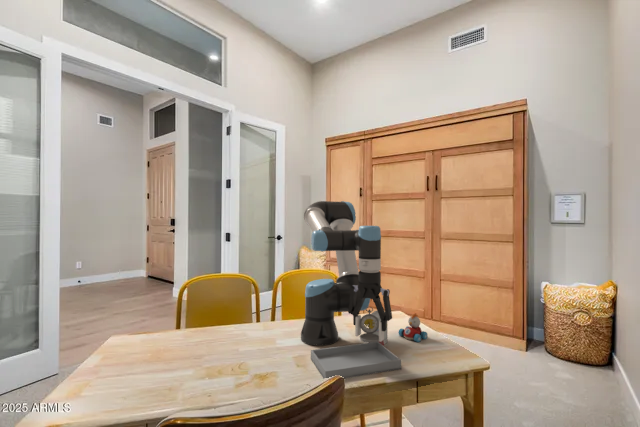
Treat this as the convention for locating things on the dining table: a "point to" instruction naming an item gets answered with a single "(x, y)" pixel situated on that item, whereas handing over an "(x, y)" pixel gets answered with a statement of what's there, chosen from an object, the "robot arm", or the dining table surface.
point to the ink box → (378, 329)
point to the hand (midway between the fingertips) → (369, 337)
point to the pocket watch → (369, 331)
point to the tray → (354, 360)
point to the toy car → (413, 330)
